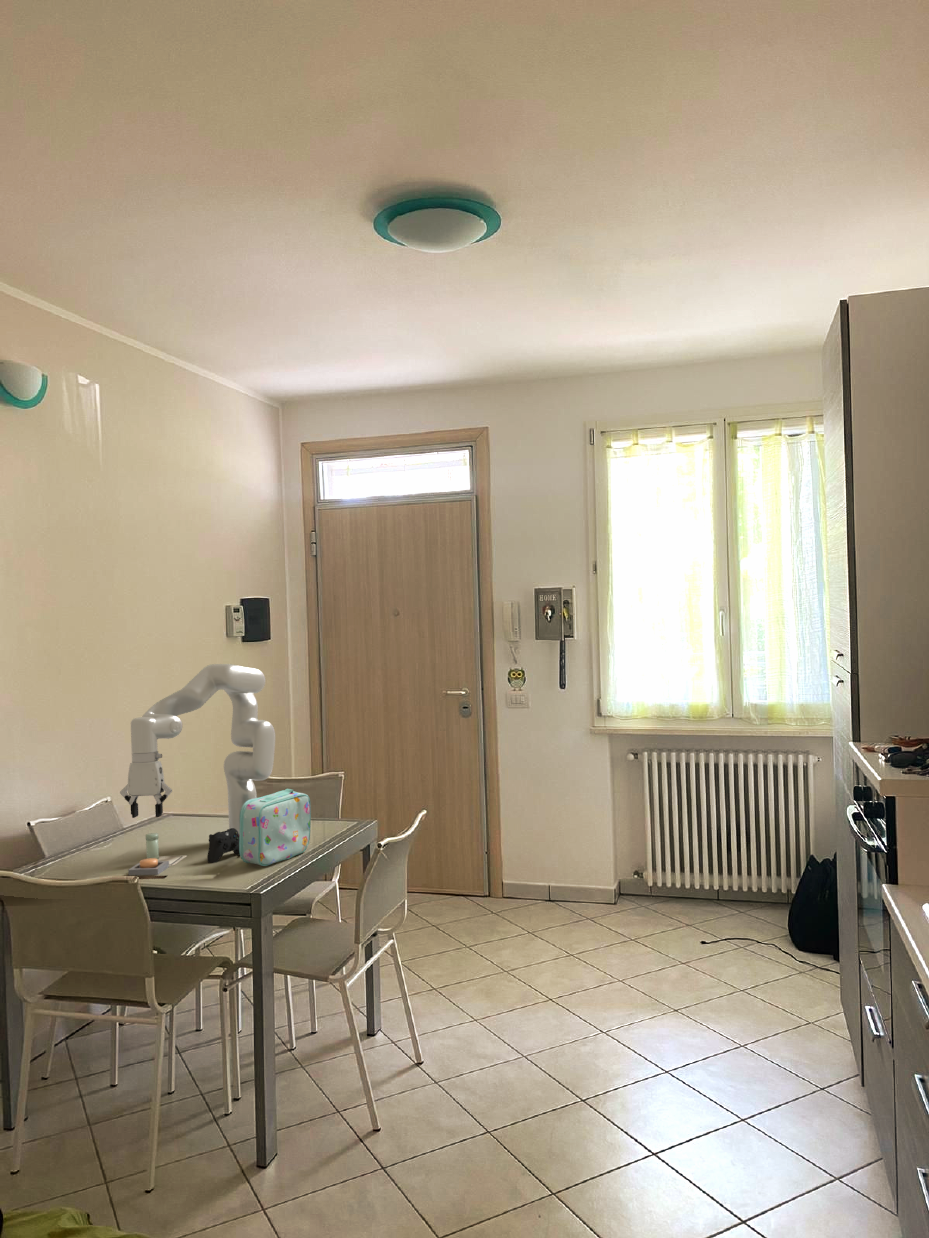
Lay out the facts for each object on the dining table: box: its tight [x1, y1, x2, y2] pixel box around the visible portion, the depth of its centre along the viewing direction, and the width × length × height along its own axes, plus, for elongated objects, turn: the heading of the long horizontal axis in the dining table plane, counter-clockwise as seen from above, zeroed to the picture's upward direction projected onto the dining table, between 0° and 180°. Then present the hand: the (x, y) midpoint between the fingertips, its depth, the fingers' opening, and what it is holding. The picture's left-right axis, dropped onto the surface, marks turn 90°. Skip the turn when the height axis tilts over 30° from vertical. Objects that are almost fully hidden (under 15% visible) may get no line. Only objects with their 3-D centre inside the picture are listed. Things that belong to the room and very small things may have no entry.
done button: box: [139, 858, 158, 868], centre depth 285 cm, size 5×5×2 cm
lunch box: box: [239, 788, 312, 867], centre depth 299 cm, size 27×10×21 cm, turn 152°
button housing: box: [127, 861, 170, 876], centre depth 285 cm, size 9×9×2 cm
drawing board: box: [137, 854, 188, 880], centre depth 292 cm, size 13×24×1 cm, turn 177°
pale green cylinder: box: [145, 832, 160, 859], centre depth 295 cm, size 4×4×9 cm
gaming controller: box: [206, 828, 240, 864], centre depth 298 cm, size 14×6×10 cm, turn 148°
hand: (146, 816), depth 285 cm, fingers open, 6 cm apart
